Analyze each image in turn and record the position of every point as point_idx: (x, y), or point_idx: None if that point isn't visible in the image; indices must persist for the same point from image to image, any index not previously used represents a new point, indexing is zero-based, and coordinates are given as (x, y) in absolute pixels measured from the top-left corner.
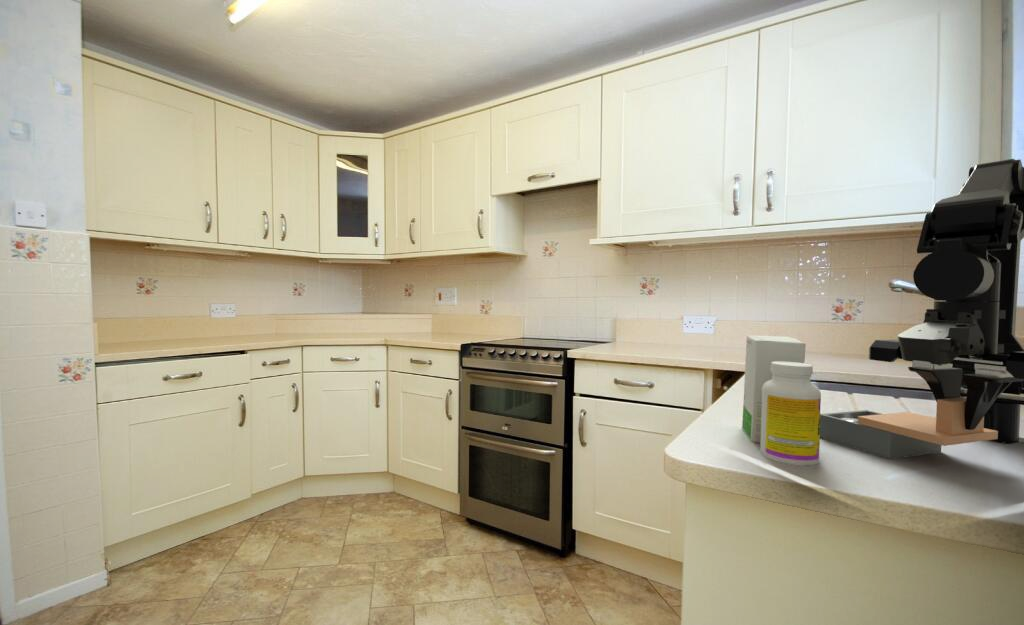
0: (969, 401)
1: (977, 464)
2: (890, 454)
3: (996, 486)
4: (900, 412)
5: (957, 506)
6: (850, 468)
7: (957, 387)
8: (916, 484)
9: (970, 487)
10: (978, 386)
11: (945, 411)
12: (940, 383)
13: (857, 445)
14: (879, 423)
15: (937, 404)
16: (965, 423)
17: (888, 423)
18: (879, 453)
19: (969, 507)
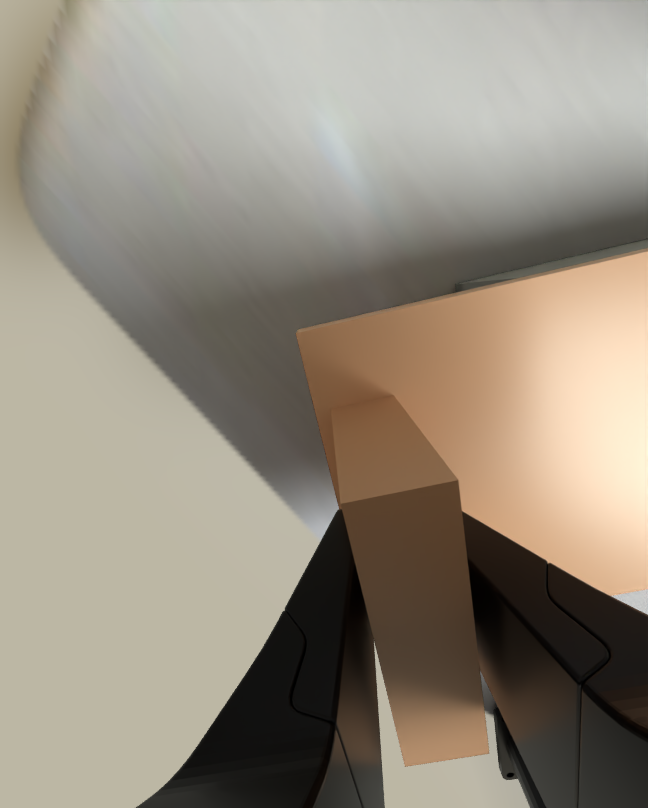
0: (326, 620)
1: None
2: (469, 285)
3: (260, 430)
4: None
5: (104, 144)
6: (436, 53)
7: (554, 797)
8: (275, 188)
9: (252, 349)
10: (179, 804)
11: (374, 449)
12: (610, 709)
13: (591, 253)
14: (600, 261)
15: (436, 459)
16: None
17: (564, 278)
18: (502, 274)
19: (102, 181)
